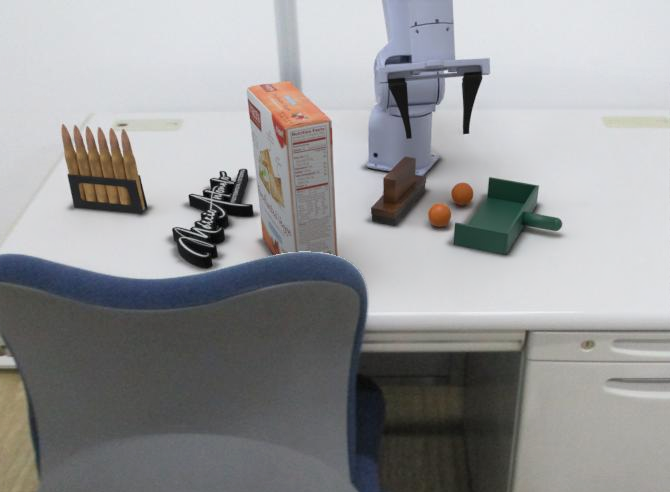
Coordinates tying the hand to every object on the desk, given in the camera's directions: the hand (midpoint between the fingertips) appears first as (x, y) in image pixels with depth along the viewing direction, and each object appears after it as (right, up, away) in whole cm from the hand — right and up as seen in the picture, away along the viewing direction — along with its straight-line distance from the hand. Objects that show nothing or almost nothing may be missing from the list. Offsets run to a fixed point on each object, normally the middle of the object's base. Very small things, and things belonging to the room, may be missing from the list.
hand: (437, 136), depth 112 cm
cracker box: (-18, -17, -3) cm, 26 cm away
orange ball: (+4, -6, +8) cm, 11 cm away
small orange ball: (0, -10, +3) cm, 10 cm away
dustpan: (+11, -11, +4) cm, 16 cm away
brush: (-5, -7, +9) cm, 13 cm away
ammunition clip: (-47, -8, +8) cm, 48 cm away
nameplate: (-31, -10, +6) cm, 33 cm away
